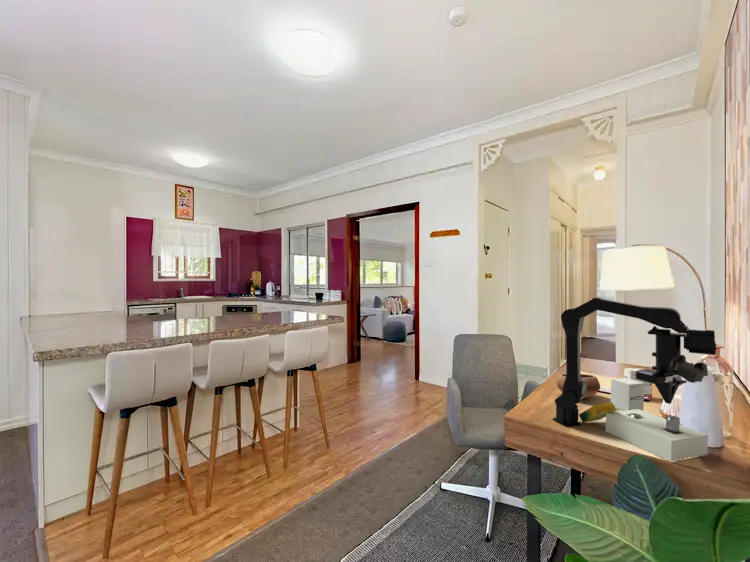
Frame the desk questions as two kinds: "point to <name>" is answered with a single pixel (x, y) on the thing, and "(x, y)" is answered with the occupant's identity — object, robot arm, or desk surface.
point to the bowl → (592, 380)
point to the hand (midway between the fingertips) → (668, 403)
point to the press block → (656, 435)
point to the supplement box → (627, 394)
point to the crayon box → (597, 412)
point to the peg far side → (672, 424)
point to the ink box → (630, 374)
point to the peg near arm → (635, 416)
